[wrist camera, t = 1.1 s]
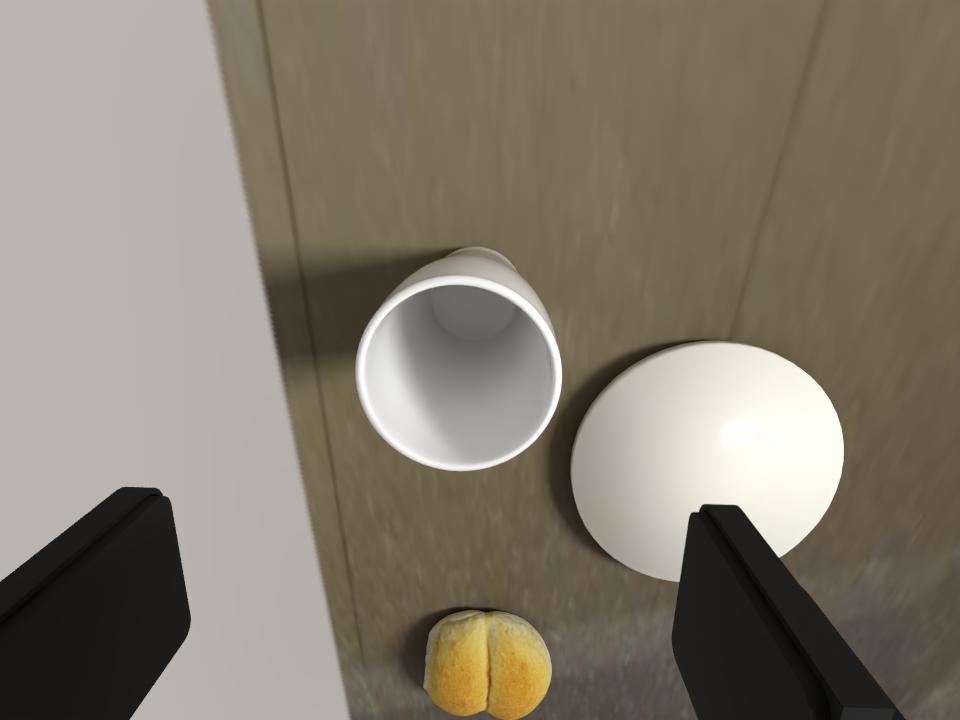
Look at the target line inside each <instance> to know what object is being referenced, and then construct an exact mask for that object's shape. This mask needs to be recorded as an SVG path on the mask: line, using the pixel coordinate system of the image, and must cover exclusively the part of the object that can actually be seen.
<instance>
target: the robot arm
mask: <svg viewBox="0 0 960 720" xmlns="http://www.w3.org/2000/svg"><path fill="white" fill-rule="evenodd" d="M190 622H191V616H190V610H189V605H188V599H187V592H186V586H185V581H184V575H183V569H182V563H181V557H180V552H179V546H178V540H177V534H176V529H175V523H174V517H173V511H172V506H171V502H170V500H169V498H168V497H165V496H163V494H162V493H161V491H160V490H159V489H157V488H143V487H122V488H120V489H118V490H116V491H115V492H114V493H113V494H111V495H110V496H109V497H108V498H106V499H105V500H104V501H102V502H101V503H100V504H99V505H97V506H96V507H95V508H94V509H92V510H91V511H90V512H88V513H87V514H86V515H85V516H83V517H82V518H81V519H80V520H78V521H77V522H76V523H74V525H72V526H71V527H69V528H68V529H67V530H66V531H64V532H63V533H62V534H61V535H59V536H58V537H57V538H55V539H54V540H53V541H52V542H50V543H49V544H48V545H46V546H45V547H44V548H43V549H41V550H40V551H39V552H38V553H36V554H35V555H34V556H33V557H31V558H30V559H29V560H27V561H26V562H25V563H24V564H22V565H21V566H20V567H19V568H17V569H16V570H15V571H13V572H12V573H11V574H10V575H8V576H7V577H6V578H5V579H3V580H2V581H1V582H0V720H129V719H130V718H131V717H132V715H133V714H134V712H135V711H136V709H137V708H138V706H139V705H140V704H141V702H142V701H143V699H144V698H145V697H146V695H147V694H148V692H149V691H150V689H151V688H152V686H153V685H154V684H155V682H156V681H157V679H158V678H159V676H160V675H161V674H162V672H163V671H164V669H165V668H166V666H167V665H168V664H169V662H170V661H171V659H172V658H173V656H174V655H175V653H176V652H177V651H178V649H179V648H180V646H181V645H182V643H183V642H184V640H185V639H186V637H187V635H188V632H189V628H190ZM672 647H673V653H674V656H675V660H676V662H677V665H678V667H679V670H680V673H681V675H682V678H683V681H684V683H685V686H686V689H687V691H688V694H689V696H690V699H691V702H692V704H693V707H694V710H695V712H696V715H697V717H698V720H906V719H905V718H904V717H903V716H902V714H901V713H900V712H899V710H898V709H897V708H896V707H895V705H894V704H893V703H892V701H891V700H890V699H889V697H888V696H887V695H886V694H885V692H884V691H883V690H882V688H881V687H880V686H879V684H878V683H877V682H876V681H875V679H874V678H873V677H872V675H871V674H870V673H869V672H868V670H867V669H866V668H865V666H864V665H863V664H862V662H861V661H860V660H859V659H858V657H857V656H856V655H855V653H854V652H853V651H852V650H851V648H850V647H849V646H848V644H847V643H846V642H845V640H844V639H843V638H842V637H841V635H840V634H839V633H838V631H837V630H836V629H835V627H834V626H833V625H832V624H831V622H830V621H829V620H828V618H827V617H826V616H825V615H824V613H823V612H822V611H821V609H820V608H819V607H818V605H817V604H816V603H815V602H814V600H813V599H812V598H811V596H810V595H809V594H808V593H807V592H806V591H805V590H804V589H803V588H802V587H801V586H800V585H799V583H798V582H797V581H796V580H795V578H794V577H793V576H792V574H791V573H790V572H789V570H788V569H787V568H786V566H785V565H784V564H783V563H782V561H781V560H780V559H779V557H778V556H777V555H776V553H775V552H774V551H773V550H772V548H771V547H770V546H769V544H768V543H767V542H766V540H765V539H764V538H763V537H762V535H761V534H760V533H759V531H758V530H757V529H756V527H755V526H754V525H753V523H752V522H751V521H750V520H749V518H748V517H747V516H746V514H745V513H744V512H743V510H742V509H741V508H740V507H739V506H738V505H723V504H703V505H702V506H701V508H700V509H699V512H692V513H691V514H690V516H689V521H688V528H687V534H686V541H685V548H684V555H683V562H682V569H681V575H680V582H679V589H678V596H677V603H676V610H675V616H674V623H673V630H672Z"/></svg>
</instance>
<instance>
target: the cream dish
mask: <svg viewBox="0 0 960 720" xmlns="http://www.w3.org/2000/svg"><path fill="white" fill-rule="evenodd" d="M843 456H844V443H843V436H842V429H841V426H840V423H839V419H838V416H837V413H836V411H835V409H834V407H833V405H832V403H831V401H830V399H829V398H828V397H827V395H826V394H825V392H824V391H823V390H822V388H821V387H820V386H819V385H818V384H817V383H816V382H815V381H814V380H813V379H812V378H811V377H810V376H809V375H808V374H807V373H806V372H804V371H803V370H802V369H800V368H799V367H798V366H796V365H795V364H793V363H792V362H790V361H788V360H787V359H785V358H783V357H781V356H779V355H777V354H775V353H773V352H771V351H769V350H766V349H763V348H760V347H758V346H755V345H750V344H746V343H741V342H734V341H722V340H714V341H698V342H692V343H686V344H681V345H678V346H674V347H671V348H667V349H664V350H662V351H659V352H657V353H654V354H652V355H650V356H647V357H646V358H644V359H642V360H640V361H639V362H637V363H635V364H633V365H632V366H630V367H629V368H627V369H626V370H625V371H623V372H622V373H621V374H619V375H618V376H617V377H616V378H615V379H613V380H612V381H611V382H610V383H609V384H608V385H607V386H606V387H605V388H604V389H603V390H602V391H601V393H600V394H599V395H598V396H597V398H596V399H595V400H594V401H593V403H592V404H591V406H590V407H589V409H588V411H587V412H586V414H585V415H584V417H583V419H582V422H581V424H580V426H579V428H578V430H577V433H576V437H575V440H574V444H573V448H572V454H571V461H570V477H571V483H572V490H573V494H574V499H575V502H576V505H577V508H578V511H579V514H580V516H581V518H582V520H583V522H584V524H585V526H586V528H587V529H588V531H589V532H590V534H591V535H592V537H593V538H594V539H595V540H596V541H597V543H598V544H599V545H600V546H601V547H602V548H603V549H604V550H605V551H606V552H608V553H609V554H610V555H611V556H612V557H614V558H615V559H616V560H618V561H619V562H621V563H623V564H624V565H626V566H627V567H629V568H632V569H634V570H636V571H638V572H640V573H643V574H646V575H649V576H652V577H655V578H659V579H664V580H669V581H676V582H680V575H681V569H682V562H683V555H684V548H685V541H686V534H687V528H688V521H689V516H690V514H691V513H692V512H699V509H700V508H701V506H702V505H703V504H723V505H738V506H739V507H740V508H741V509H742V510H743V512H744V513H745V514H746V516H747V517H748V518H749V520H750V521H751V522H752V523H753V525H754V526H755V527H756V529H757V530H758V531H759V533H760V534H761V535H762V537H763V538H764V539H765V540H766V542H767V543H768V544H769V546H770V547H771V548H772V550H773V551H774V552H775V553H776V555H777V556H778V557H781V556H783V555H784V554H785V553H787V552H788V551H789V550H791V549H792V548H793V547H795V546H796V545H797V544H798V543H799V542H800V541H801V540H803V539H804V538H805V537H806V536H807V535H808V534H809V533H810V532H811V530H812V529H813V528H814V527H815V526H816V524H817V523H818V522H819V521H820V519H821V518H822V516H823V515H824V513H825V512H826V510H827V509H828V507H829V505H830V503H831V501H832V499H833V497H834V495H835V492H836V490H837V487H838V483H839V480H840V477H841V472H842V466H843Z"/></svg>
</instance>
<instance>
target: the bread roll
mask: <svg viewBox="0 0 960 720" xmlns="http://www.w3.org/2000/svg"><path fill="white" fill-rule="evenodd" d="M425 662H426V667H425V678H424V685H423V688H424V689H425V690H427V692H428V694H429V696H430V698H431V699H432V701H433V702H434V703H435V704H437V705H438V706H439V707H440V708H442V709H443V710H445V711H447V712H449V713H450V714H453V715H458V716H469V715H473V714H475V713H478V712H480V711H483V710H486V711H487V712H488V713H490V714H491V715H493V716H495V717H497V718H500V719H503V720H514V719H519V718H521V717H523V716H525V715H527V714H529V713H530V712H531V711H532V710H533V709H534V708H535V707H536V706H537V705H538V704H539V703H540V702H541V700H542V699H543V697H544V696H545V694H546V692H547V690H548V687H549V684H550V680H551V674H552V666H551V661H550V655H549V652H548V650H547V648H546V645H545V643H544V641H543V639H542V637H541V636H540V634H539V633H538V632H537V631H536V630H535V629H534V628H533V627H532V626H531V625H530V624H529V623H528V622H527V621H525V620H524V619H522V618H520V617H518V616H516V615H514V614H511V613H507V612H501V611H491V612H487V613H485V612H482V611H479V610H466V611H462V612H457V613H453V614H451V615H448V616H446V617H445V618H443V619H442V620H440V621H439V622H438V623H437V624H436V625H435V626H434V627H433V628H432V629H431V631H430V633H429V637H428V643H427V652H426V657H425Z"/></svg>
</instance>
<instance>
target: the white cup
mask: <svg viewBox="0 0 960 720" xmlns="http://www.w3.org/2000/svg"><path fill="white" fill-rule="evenodd" d="M355 377H356V386H357V391H358V395H359V398H360V401H361V404H362V407H363V409H364V411H365V414H366V415H367V417H368V419H369V421H370V422H371V424H372V425H373V427H374V428H375V430H376V431H377V432H378V433H379V434H380V435H381V437H382V438H383V439H384V440H385V441H386V442H387V443H388V444H390V445H391V446H392V447H393V448H395V449H396V450H397V451H399V452H400V453H402V454H403V455H405V456H407V457H408V458H410V459H412V460H414V461H416V462H419V463H421V464H424V465H427V466H430V467H434V468H438V469H443V470H451V471H471V470H479V469H484V468H488V467H491V466H495V465H498V464H500V463H503V462H505V461H507V460H509V459H511V458H513V457H514V456H516V455H518V454H519V453H521V452H522V451H523V450H525V449H526V448H527V447H529V446H530V445H531V444H532V443H533V442H534V441H535V440H536V439H537V438H538V437H539V435H540V434H541V433H542V432H543V430H544V429H545V428H546V426H547V425H548V423H549V421H550V419H551V418H552V416H553V413H554V411H555V409H556V406H557V403H558V400H559V396H560V391H561V383H562V367H561V359H560V354H559V349H558V344H557V339H556V335H555V332H554V329H553V326H552V323H551V320H550V318H549V316H548V313H547V311H546V309H545V307H544V305H543V303H542V302H541V300H540V298H539V297H538V295H537V294H536V292H535V291H534V290H533V288H532V287H531V286H530V285H529V284H528V283H527V281H526V280H525V279H524V278H523V277H522V276H520V275H519V274H518V272H517V271H516V269H515V267H514V266H513V265H512V263H511V262H510V261H509V260H508V259H507V258H505V257H504V256H503V255H501V254H500V253H498V252H496V251H494V250H492V249H489V248H485V247H476V246H475V247H465V248H461V249H458V250H456V251H454V252H452V253H450V254H449V255H447V256H446V257H445V258H442V259H439V260H436V261H434V262H432V263H430V264H427V265H425V266H424V267H422V268H420V269H419V270H417V271H415V272H414V273H412V274H411V275H410V276H408V277H407V278H406V279H405V280H403V281H402V282H401V283H400V284H399V285H398V286H397V287H396V288H395V289H394V290H393V291H392V292H391V293H390V294H389V296H388V297H387V298H386V299H385V300H384V302H383V303H382V304H381V306H380V307H379V309H378V310H377V311H376V313H375V314H374V316H373V317H372V319H371V320H370V321H369V323H368V325H367V327H366V329H365V331H364V333H363V335H362V338H361V340H360V344H359V347H358V351H357V356H356V366H355Z"/></svg>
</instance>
